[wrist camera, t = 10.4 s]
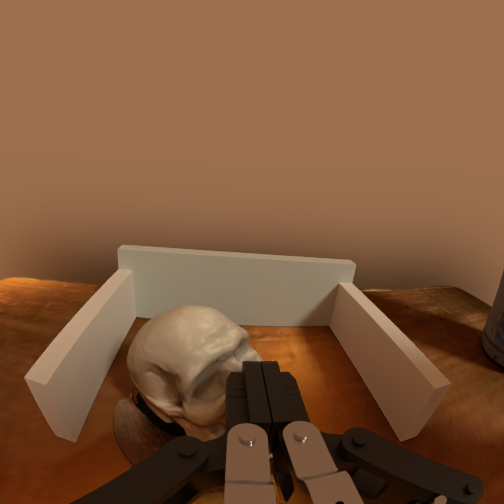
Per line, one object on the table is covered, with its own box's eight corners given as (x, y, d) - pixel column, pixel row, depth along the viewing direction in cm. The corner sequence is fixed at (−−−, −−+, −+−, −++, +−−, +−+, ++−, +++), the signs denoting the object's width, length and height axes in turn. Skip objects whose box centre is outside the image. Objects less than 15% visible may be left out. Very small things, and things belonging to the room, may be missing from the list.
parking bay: (336, 319, 29) (350, 260, 28) (416, 436, 13) (465, 356, 11) (127, 308, 27) (122, 244, 25) (56, 435, 10) (11, 344, 8)
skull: (339, 389, 17) (334, 352, 9) (263, 501, 13) (192, 546, 5) (213, 326, 24) (144, 259, 16) (151, 417, 20) (56, 388, 12)
